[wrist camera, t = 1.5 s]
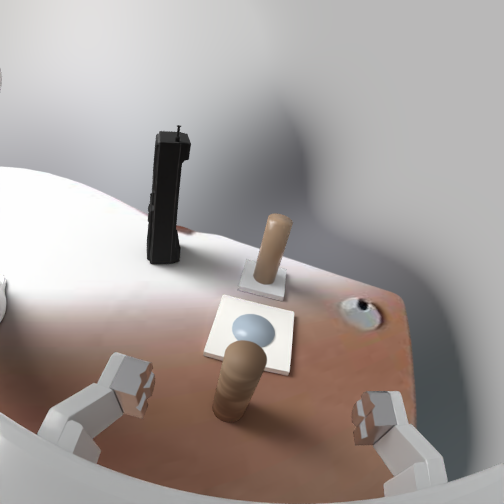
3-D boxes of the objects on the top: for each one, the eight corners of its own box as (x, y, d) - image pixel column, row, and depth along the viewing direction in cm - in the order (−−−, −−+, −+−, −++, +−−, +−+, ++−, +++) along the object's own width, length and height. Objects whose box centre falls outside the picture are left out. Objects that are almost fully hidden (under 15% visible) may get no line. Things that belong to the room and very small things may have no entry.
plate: (203, 355, 39) (203, 350, 38) (222, 298, 49) (223, 293, 48) (287, 375, 39) (289, 371, 38) (292, 315, 49) (294, 311, 48)
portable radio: (146, 240, 58) (152, 115, 43) (175, 239, 60) (188, 117, 45) (147, 264, 52) (152, 125, 37) (179, 263, 54) (193, 127, 40)
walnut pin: (209, 417, 31) (220, 369, 25) (216, 391, 35) (229, 336, 28) (241, 425, 31) (264, 379, 25) (246, 398, 35) (269, 345, 28)
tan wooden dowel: (237, 290, 51) (252, 225, 44) (245, 263, 58) (259, 203, 50) (282, 301, 51) (304, 239, 44) (285, 273, 58) (304, 215, 50)
